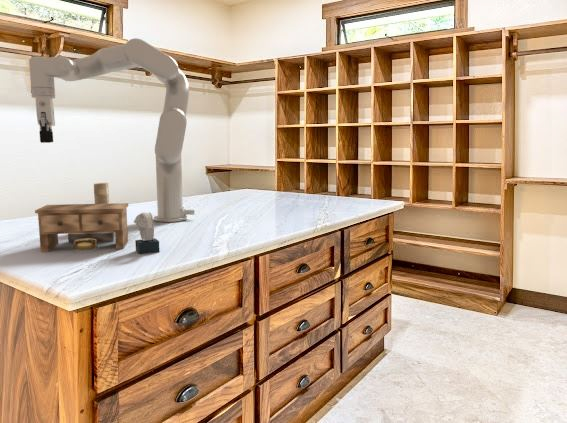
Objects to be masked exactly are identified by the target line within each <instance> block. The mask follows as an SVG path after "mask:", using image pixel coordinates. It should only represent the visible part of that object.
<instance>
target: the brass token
mask: <svg viewBox="0 0 567 423" xmlns="http://www.w3.org/2000/svg"><path fill="white" fill-rule="evenodd" d="M97 244H98V242H97V240H96V239H95V238H81V239H76V240H74V244H73V245H74V250H77V251H88V250H94V249H96V248H97V247H98V245H97Z"/></svg>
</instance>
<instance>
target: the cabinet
mask: <svg viewBox="0 0 567 423" xmlns="http://www.w3.org/2000/svg"><path fill="white" fill-rule="evenodd" d="M128 207H129V203H128V202H127V203H126V202H121V203H120V202H119V203H109V204H95V203H82V204H81V203H80V204H79V203H75V204H74V203H73V204H71V203H70V204H68V203H67V204H46V205H44V206H41V207H39V208H38V209H35V210H34V214H37V217H38V218H37V220H38V231H39V246H40V253H49V252H50V251H51V250H52V249H54V248H55V247H57V246H58V245H59V235H62V234H63V235H68V234H70V233H103V232H114V233H115V234H114V239H115V250H124V249H125V247H126V246H127V244H128V243H129V235H128V234H129V232H128V215H127V214H128V213H127V212H128V211H127V208H128Z"/></svg>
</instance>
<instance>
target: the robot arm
mask: <svg viewBox="0 0 567 423" xmlns="http://www.w3.org/2000/svg"><path fill="white" fill-rule="evenodd" d="M140 67H141V68H142V69H144V70H145V71H147V72H149V73H150V74H152V75H154V76H155V77H156V78H157V79H158V80H159V81H160V82H161V83H163V85H164V87H165V89H166V90H165V98H164V104H163V109H162V112H161V114H160V117H159V121H158V122H159V123H158V127H157V132H156V134H157V135H156V138H155V139H156V140H155V145H154V154H155V169H156V170H155V172H156V199H157V202H156V204H157V215H155V216H154V217H153V221H155V222H159V223H161V222H162V223H175V222H176V223H177V222H183V221H186V220H187V219H188V215H189V216H194V215H195V209H186V208H184V206H183V204H184V203H183V176H182V175H183V173H182V172H183V171H182V170H183V169H182V168H183V167H182V154H183V153H182V150H183V145H184V142H185V135H186V131H187V130H186V129H187V122H188V121H187V111H188V104H189V99H190V98H189V97H190V85H189V82H188V79H187V77H186V75H185V74H184V72H183V71H182V70H181V69H180V68H179V65H178V63H177V61H176V60H175V59H174V58H173V57H172V56H170V55H169V54H166V53H165V52H163V51H161V50H160V49H158V48H156V47H154V46H153V45H151V44H150V43H148V42H147V41H145V40H143V39H141V38H137V37H136V38H135V37H134V38H131V39H129V40H127V42H126V43H124V44H119V45H112V46H108V47H103V48H100V49H98V50H97V51H95V52H94V53H93V54H91V55H89V56H84V57H81V58H76V59H75V58H74V59H70V58H69V57H66V56H61V55H59V56H52V57H50V56H49V57H46V56H31V57H30V58H29V59H28V68H29V79H30V80H29V81H30V92H31V98H34V99H35V111H36V119H37V125H38V126H39V142H40V143H43V144H45V143H53V142H54V135H53V134H54V132H53V127H55V126H56V120H55V110H54V109H55V107H54V101H53V100H54V99H56V91H55V90H56V88H55V78H57V79H61V80H63V81H65V82H76V81H81V80H85V79H90V78H91V79H92V78H95V77H98V76H102V75H106V74H111V73H114V72H120V71H123V70H124V71H126V70H130V69H135V68H140Z"/></svg>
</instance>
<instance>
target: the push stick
mask: <svg viewBox="0 0 567 423" xmlns="http://www.w3.org/2000/svg"><path fill="white" fill-rule="evenodd" d="M93 194H94V195H93V196H94V204H110V196H109V195H110V193H109V182H95V183H93ZM114 233H115V232H103V233H70V234H67V240H68V243H69V244H70V243H71V244H72V243H74V240H76V239H81V238H95V239H96V240H97V243H98V242H102V243H103V242H115V234H114Z"/></svg>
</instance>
